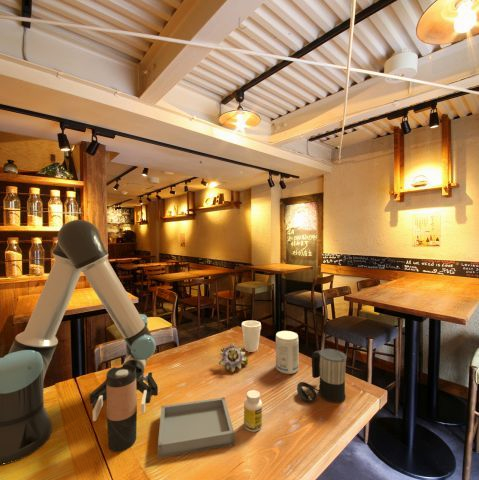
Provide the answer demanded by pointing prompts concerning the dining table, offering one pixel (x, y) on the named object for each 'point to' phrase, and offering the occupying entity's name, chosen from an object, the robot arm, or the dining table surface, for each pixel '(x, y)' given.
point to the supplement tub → (287, 352)
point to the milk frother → (326, 376)
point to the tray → (194, 427)
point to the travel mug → (121, 407)
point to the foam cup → (251, 334)
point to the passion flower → (233, 357)
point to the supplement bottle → (253, 411)
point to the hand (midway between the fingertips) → (118, 412)
